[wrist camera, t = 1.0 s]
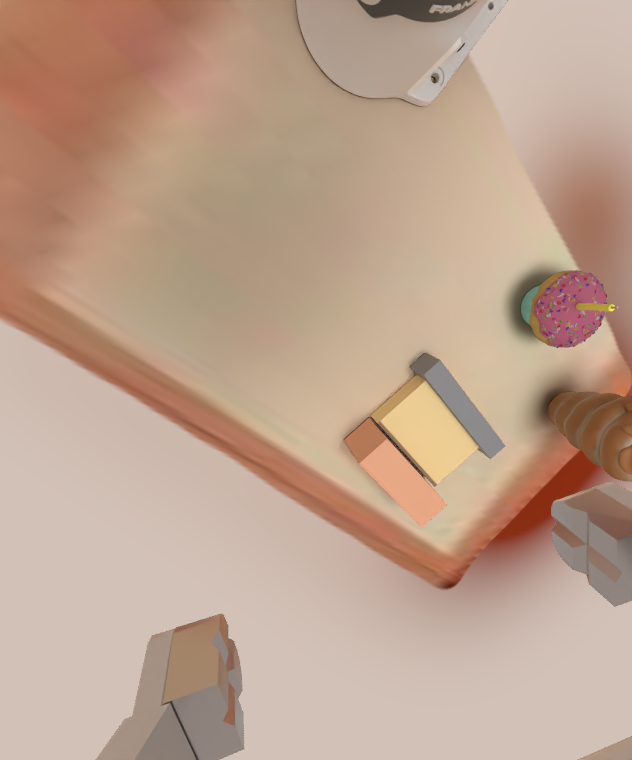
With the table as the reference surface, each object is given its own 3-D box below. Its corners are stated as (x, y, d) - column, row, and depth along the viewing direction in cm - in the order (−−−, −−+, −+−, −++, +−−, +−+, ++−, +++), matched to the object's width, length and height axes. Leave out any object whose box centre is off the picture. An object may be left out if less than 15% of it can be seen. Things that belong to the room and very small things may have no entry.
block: (368, 417, 48) (387, 438, 43) (424, 478, 52) (447, 505, 47) (344, 439, 49) (358, 463, 43) (400, 498, 53) (421, 527, 47)
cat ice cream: (551, 363, 52) (707, 414, 35) (592, 386, 54) (758, 444, 37) (515, 423, 53) (648, 500, 36) (557, 442, 55) (700, 523, 39)
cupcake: (493, 318, 48) (574, 336, 37) (535, 253, 47) (632, 252, 36) (542, 351, 51) (631, 378, 40) (582, 291, 50) (686, 301, 38)
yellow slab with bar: (426, 350, 48) (442, 358, 44) (489, 432, 53) (507, 444, 49) (363, 407, 48) (373, 419, 45) (431, 482, 53) (445, 498, 50)
